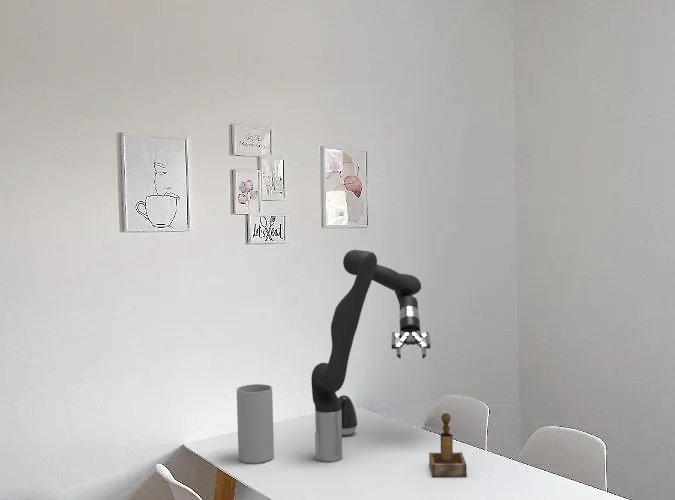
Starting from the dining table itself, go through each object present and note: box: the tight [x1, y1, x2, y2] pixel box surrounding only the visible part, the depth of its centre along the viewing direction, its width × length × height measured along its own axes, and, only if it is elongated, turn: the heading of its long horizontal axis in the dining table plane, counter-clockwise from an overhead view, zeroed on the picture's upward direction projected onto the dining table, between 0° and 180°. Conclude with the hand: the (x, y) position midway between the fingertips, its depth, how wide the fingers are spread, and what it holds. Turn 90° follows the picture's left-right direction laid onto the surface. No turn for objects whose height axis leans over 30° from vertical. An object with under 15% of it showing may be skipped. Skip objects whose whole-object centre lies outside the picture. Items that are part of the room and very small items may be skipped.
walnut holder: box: [428, 451, 468, 478], centre depth 227 cm, size 11×12×4 cm
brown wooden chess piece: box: [437, 413, 457, 464], centre depth 227 cm, size 7×6×18 cm
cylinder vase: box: [236, 383, 275, 465], centre depth 243 cm, size 12×12×25 cm
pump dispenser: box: [338, 394, 358, 437], centre depth 270 cm, size 10×10×15 cm
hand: (411, 357), depth 248 cm, fingers open, 8 cm apart
